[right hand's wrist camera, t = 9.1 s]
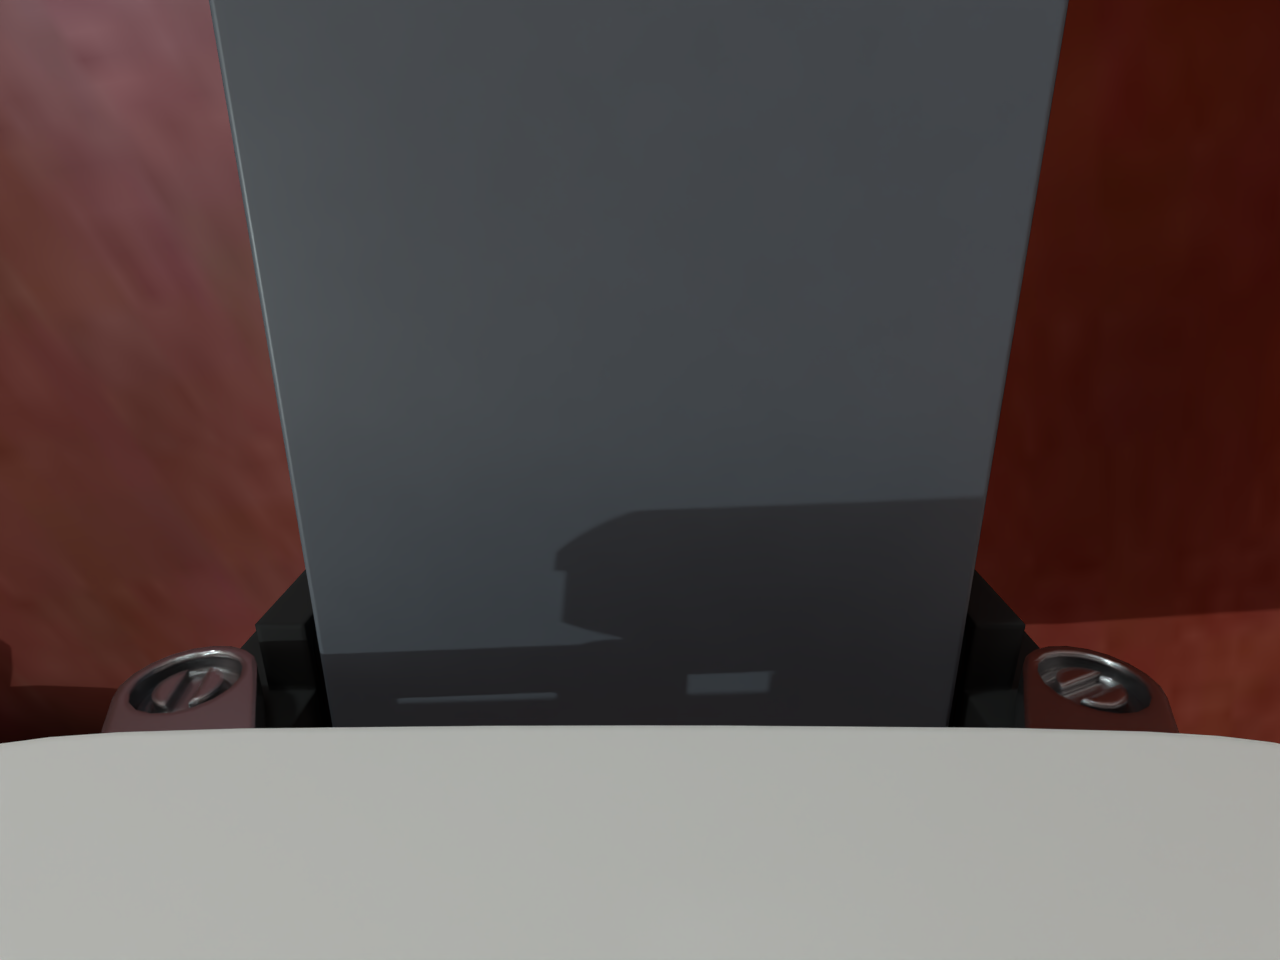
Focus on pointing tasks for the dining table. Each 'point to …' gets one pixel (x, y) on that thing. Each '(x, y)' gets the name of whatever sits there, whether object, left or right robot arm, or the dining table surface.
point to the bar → (639, 343)
